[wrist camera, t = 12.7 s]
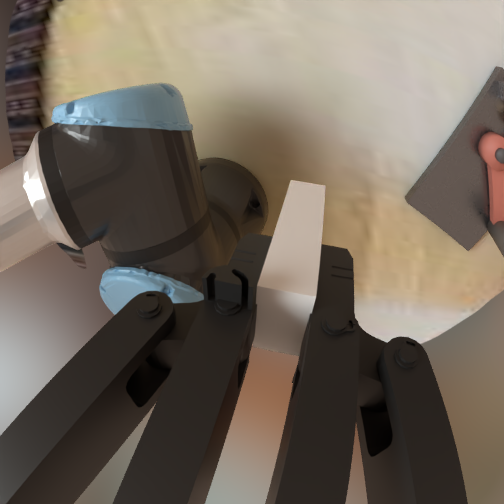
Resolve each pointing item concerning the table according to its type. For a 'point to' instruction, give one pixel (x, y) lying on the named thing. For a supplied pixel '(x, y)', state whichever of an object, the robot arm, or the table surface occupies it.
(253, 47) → the table surface
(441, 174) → the base
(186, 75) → the table surface
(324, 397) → the robot arm
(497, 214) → the lever
